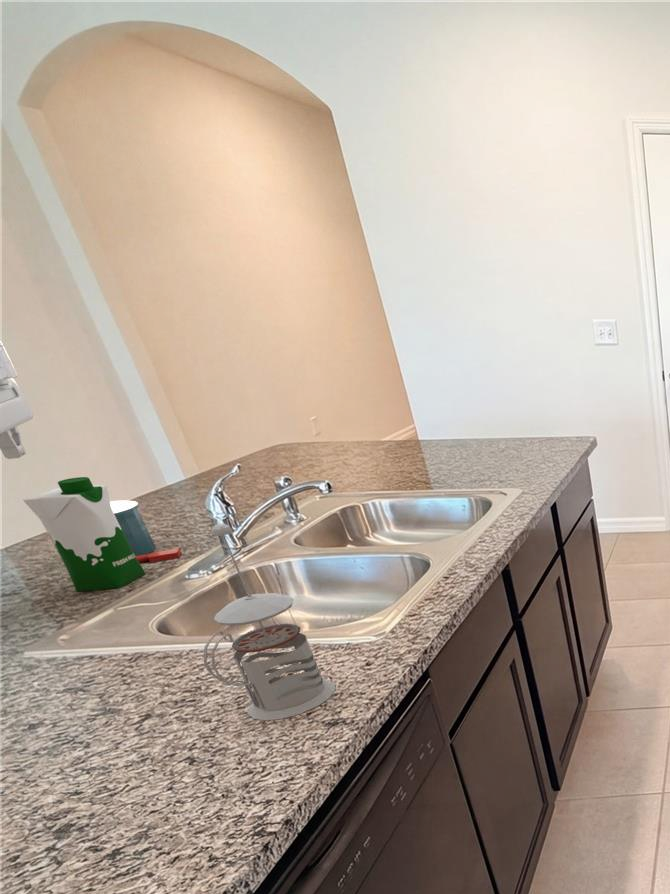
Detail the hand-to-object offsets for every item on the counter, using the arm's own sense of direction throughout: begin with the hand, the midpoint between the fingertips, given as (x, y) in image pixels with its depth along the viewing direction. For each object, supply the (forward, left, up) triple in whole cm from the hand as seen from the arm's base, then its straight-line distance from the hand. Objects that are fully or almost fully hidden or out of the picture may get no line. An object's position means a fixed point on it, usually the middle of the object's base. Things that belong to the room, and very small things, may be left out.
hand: (16, 456), depth 106 cm
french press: (+29, -61, -26) cm, 72 cm away
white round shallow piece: (-1, +28, -17) cm, 33 cm away
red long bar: (+3, +20, -26) cm, 33 cm away
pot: (-1, +28, -26) cm, 39 cm away
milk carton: (+1, +10, -26) cm, 28 cm away
